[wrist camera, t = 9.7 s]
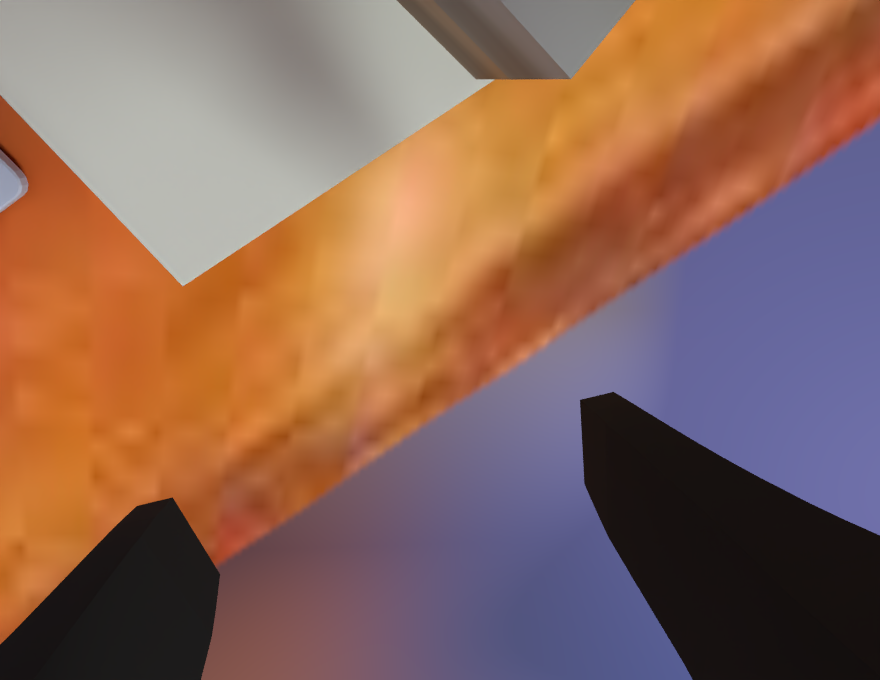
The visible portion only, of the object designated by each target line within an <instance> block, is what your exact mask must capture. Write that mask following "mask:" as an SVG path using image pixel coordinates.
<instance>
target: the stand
mask: <svg viewBox="0 0 880 680" xmlns="http://www.w3.org/2000/svg"><path fill="white" fill-rule="evenodd" d="M493 80H495V79H475V78H474V77H473V76H472V75H471V74H470V73H469V72H468V71H467V70H466V69H465V68H464V67H463V66H462V65H461V64H460V63H459V62H458V61H457V60H456V59H455V58H454V57H453V56H452V55H451V54H450V53H449V52H448V51H447V50H446V49H445V48H444V47H443V46H442V45H441V44H440V43H439V42H438V41H437V40H436V39H435V38H434V37H433V36H432V35H431V34H430V33H429V32H428V31H427V30H426V29H425V28H424V27H423V26H422V25H421V24H420V23H419V22H418V21H417V20H416V19H415V18H414V17H413V16H412V15H411V14H410V13H409V12H408V11H407V10H406V9H405V8H404V7H403V6H402V5H401V4H400V3H399V2H398V1H397V0H0V95H1V96H2V97H3V98H4V99H5V100H6V101H7V103H8V104H9V105H10V106H11V107H12V108H13V109H14V110H15V111H16V112H17V113H18V114H19V115H20V116H21V117H22V118H23V119H24V120H25V121H26V122H27V123H28V125H29V126H30V127H31V128H32V129H33V130H34V131H35V132H36V133H37V134H38V135H39V136H40V137H41V138H42V139H43V140H44V141H45V142H46V143H47V144H48V145H49V147H50V148H51V149H52V150H53V151H54V152H55V153H56V154H57V155H58V156H59V157H60V158H61V159H62V160H63V161H64V162H65V163H66V164H67V165H68V166H69V167H70V169H71V170H72V171H73V172H74V173H75V174H76V175H77V176H78V177H79V178H80V179H81V180H82V181H83V182H84V183H85V184H86V185H87V186H88V187H89V188H90V189H91V191H92V192H93V193H94V194H95V195H96V196H97V197H98V198H99V199H100V200H101V201H102V202H103V203H104V204H105V205H106V206H107V207H108V208H109V209H110V210H111V211H112V213H113V214H114V215H115V216H116V217H117V218H118V219H119V220H120V221H121V222H122V223H123V224H124V225H125V226H126V227H127V228H128V229H129V230H130V231H131V232H132V233H133V235H134V236H135V237H136V238H137V239H138V240H139V241H140V242H141V243H142V244H143V245H144V246H145V247H146V248H147V249H148V250H149V251H150V252H151V253H152V254H153V255H154V257H155V258H156V259H157V260H158V261H159V262H160V263H161V264H162V265H163V266H164V267H165V268H166V269H167V270H168V271H169V272H170V273H171V274H172V275H173V276H174V277H175V279H176V280H177V281H178V282H179V283H180V284H181V285H182V286H184V285H186V284H187V283H189V282H190V281H192V280H193V279H195V278H196V277H198V276H199V275H201V274H202V273H204V272H205V271H207V270H208V269H210V268H211V267H213V266H214V265H216V264H217V263H219V262H220V261H222V260H223V259H225V258H226V257H228V256H229V255H231V254H232V253H234V252H235V251H237V250H238V249H240V248H241V247H243V246H244V245H246V244H247V243H249V242H250V241H252V240H254V239H255V238H257V237H258V236H260V235H261V234H263V233H264V232H266V231H267V230H269V229H270V228H272V227H273V226H275V225H276V224H278V223H279V222H281V221H282V220H284V219H285V218H287V217H288V216H290V215H291V214H293V213H294V212H296V211H297V210H299V209H300V208H302V207H303V206H305V205H306V204H308V203H309V202H311V201H312V200H314V199H315V198H317V197H318V196H320V195H321V194H323V193H324V192H326V191H327V190H329V189H330V188H332V187H333V186H335V185H336V184H338V183H339V182H341V181H343V180H344V179H346V178H347V177H349V176H350V175H352V174H353V173H355V172H356V171H358V170H359V169H361V168H362V167H364V166H365V165H367V164H368V163H370V162H371V161H373V160H374V159H376V158H377V157H379V156H380V155H382V154H383V153H385V152H386V151H388V150H389V149H391V148H392V147H394V146H395V145H397V144H398V143H400V142H401V141H403V140H404V139H406V138H407V137H409V136H410V135H412V134H413V133H415V132H416V131H418V130H419V129H421V128H422V127H424V126H425V125H427V124H428V123H430V122H431V121H433V120H435V119H436V118H438V117H439V116H441V115H442V114H444V113H445V112H447V111H448V110H450V109H451V108H453V107H454V106H456V105H457V104H459V103H460V102H462V101H463V100H465V99H466V98H468V97H469V96H471V95H472V94H474V93H475V92H477V91H478V90H480V89H481V88H483V87H484V86H486V85H487V84H489V83H490V82H492V81H493Z"/></svg>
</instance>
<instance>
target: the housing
mask: <svg viewBox="0 0 880 680" xmlns="http://www.w3.org/2000/svg"><path fill="white" fill-rule="evenodd" d="M397 1H398V2H399V3H400V4H401V5H402V6H403V7H404V8H405V9H406V10H407V11H408V12H409V13H410V14H411V15H412V16H413V17H414V18H415V19H416V20H417V21H418V22H419V23H420V24H421V25H422V26H423V27H424V28H425V29H426V30H427V31H428V32H429V33H430V34H431V35H432V36H433V37H434V38H435V39H436V40H437V41H438V42H439V43H440V44H441V45H442V46H443V47H444V48H445V49H446V50H447V51H448V52H449V53H450V54H451V55H452V56H453V57H454V58H455V59H456V60H457V61H458V62H459V63H460V64H461V65H462V66H463V67H464V68H465V69H466V70H467V71H468V72H469V73H470V74H471V75H472V76H473V77H474V78H475V79H571V78H572V77H573V76H574V75H575V73H576V72H577V71H578V70H579V69H580V67H581V66H582V65H583V64H584V62H585V61H586V60H587V59H588V58H589V56H590V55H591V54H592V53H593V51H594V50H595V49H596V48H597V47H598V45H599V44H600V43H601V42H602V40H603V39H604V38H605V37H606V36H607V34H608V33H609V32H610V31H611V29H612V28H613V27H614V26H615V25H616V23H617V22H618V21H619V20H620V18H621V17H622V16H623V15H624V14H625V12H626V11H627V10H628V9H629V7H630V6H631V5H632V4H633V3H634V1H635V0H397Z"/></svg>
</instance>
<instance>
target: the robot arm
mask: <svg viewBox="0 0 880 680" xmlns="http://www.w3.org/2000/svg"><path fill="white" fill-rule="evenodd" d="M27 191H28V181H27V178H26V176H25V175H24V173H23V172H22V171H21V170H20V169H19V168H18V167H17V166H16V165H15V164H14V163H13V162H12V161H11V160H10V159H9V158H8V157H7V156H6V155H5V154H4V153H3V152H2V151H1V150H0V212H2V211H3V210H5V209H6V208H7V207H9V206H10V205H11V204H13V203H14V202H15V201H17V200H18V199H20V198H21V197H22V196H24V194H25V193H26V192H27ZM580 407H581V426H582V444H583V460H584V461H583V463H584V482H585V486H586V488H587V491H588V493H589V495H590V497H591V500H592V502H593V504H594V506H595V508H596V511H597V513H598V516H599V518H600V520H601V522H602V524H603V526H604V528H605V530H606V533H607V535H608V537H609V539H610V540H611V542H612V544H613V545H614V547H615V549H616V550H617V552H618V554H619V556H620V557H621V559H622V561H623V562H624V564H625V566H626V567H627V569H628V571H629V572H630V574H631V576H632V578H633V579H634V581H635V583H636V584H637V586H638V588H639V589H640V591H641V593H642V594H643V596H644V598H645V599H646V601H647V603H648V604H649V606H650V608H651V609H652V611H653V613H654V614H655V616H656V618H657V619H658V621H659V623H660V624H661V626H662V628H663V629H664V631H665V633H666V634H667V636H668V638H669V639H670V641H671V643H672V644H673V646H674V647H675V649H676V651H677V653H678V654H679V656H680V658H681V659H682V661H683V663H684V664H685V666H686V668H687V670H688V672H689V674H690V675H691V677H692V679H693V680H880V535H877V534H875V533H873V532H871V531H868V530H866V529H864V528H862V527H859V526H857V525H855V524H853V523H850V522H848V521H845V520H844V519H841V518H839V517H837V516H835V515H833V514H831V513H829V512H827V511H825V510H823V509H820V508H818V507H816V506H814V505H812V504H810V503H808V502H806V501H804V500H802V499H800V498H798V497H796V496H794V495H792V494H790V493H788V492H786V491H785V490H783V489H781V488H779V487H777V486H775V485H773V484H771V483H769V482H767V481H765V480H763V479H761V478H759V477H758V476H756V475H754V474H752V473H750V472H748V471H746V470H745V469H743V468H741V467H739V466H737V465H735V464H734V463H732V462H730V461H728V460H727V459H725V458H723V457H721V456H719V455H717V454H716V453H714V452H713V451H711V450H709V449H707V448H706V447H704V446H702V445H700V444H698V443H697V442H695V441H694V440H692V439H690V438H689V437H687V436H685V435H683V434H682V433H680V432H678V431H677V430H675V429H673V428H672V427H670V426H669V425H667V424H665V423H664V422H662V421H660V420H659V419H657V418H655V417H654V416H652V415H650V414H649V413H647V412H646V411H644V410H642V409H641V408H639V407H637V406H636V405H634V404H633V403H631V402H629V401H628V400H626V399H624V398H622V397H621V396H619V395H618V394H616V393H614V392H612V393H607V394H604V395H599V396H595V397H591V398H587V399H582V400H580ZM219 578H220V574H219V572H218V570H217V569H216V567H215V565H214V564H213V562H212V561H211V559H210V557H209V556H208V554H207V553H206V551H205V549H204V548H203V546H202V544H201V543H200V541H199V540H198V538H197V536H196V535H195V533H194V531H193V530H192V528H191V527H190V525H189V523H188V522H187V520H186V518H185V517H184V515H183V514H182V512H181V510H180V509H179V507H178V506H177V504H176V502H175V501H174V499H173V498H169V499H165V500H160V501H156V502H152V503H148V504H144V505H140V506H137V507H136V508H134V509H133V510H132V511H131V512H130V513H129V514H128V515H127V516H126V517H125V518H124V519H123V520H122V521H121V522H120V523H118V524H117V525H116V526H115V527H114V528H113V529H112V530H111V531H110V532H109V533H108V534H107V536H106V537H105V538H104V539H103V540H102V541H101V542H100V543H99V544H98V545H97V546H96V547H95V548H94V549H93V550H92V551H91V552H90V553H89V554H88V555H87V556H86V557H85V558H84V559H83V560H82V561H81V562H80V563H79V564H78V565H77V567H76V568H75V569H74V570H73V571H72V572H71V573H70V574H69V575H68V576H67V577H66V578H65V579H64V580H63V581H62V582H61V583H60V584H59V585H58V586H57V587H56V588H55V589H54V590H53V591H52V592H51V593H50V595H49V596H48V597H47V598H46V599H45V600H44V601H43V602H42V603H41V604H40V605H39V606H38V607H37V608H36V609H35V610H34V611H33V612H32V613H31V614H30V615H29V616H28V617H27V618H26V619H25V620H24V621H23V622H22V623H21V624H20V626H19V627H18V628H17V629H16V630H15V631H14V632H13V633H12V634H11V635H10V636H9V637H8V638H7V639H6V640H5V641H4V642H3V643H2V644H1V645H0V680H201V676H202V672H203V669H204V665H205V661H206V657H207V653H208V649H209V645H210V641H211V637H212V631H213V624H214V618H215V611H216V602H217V595H218V586H219Z"/></svg>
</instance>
